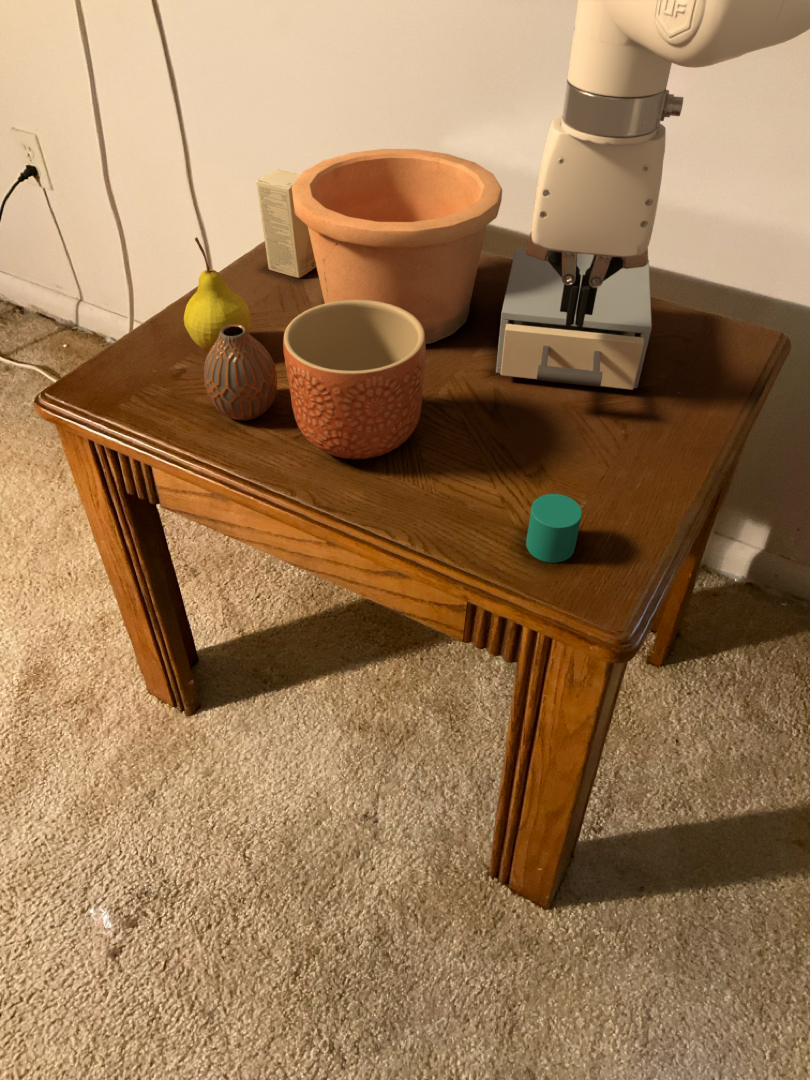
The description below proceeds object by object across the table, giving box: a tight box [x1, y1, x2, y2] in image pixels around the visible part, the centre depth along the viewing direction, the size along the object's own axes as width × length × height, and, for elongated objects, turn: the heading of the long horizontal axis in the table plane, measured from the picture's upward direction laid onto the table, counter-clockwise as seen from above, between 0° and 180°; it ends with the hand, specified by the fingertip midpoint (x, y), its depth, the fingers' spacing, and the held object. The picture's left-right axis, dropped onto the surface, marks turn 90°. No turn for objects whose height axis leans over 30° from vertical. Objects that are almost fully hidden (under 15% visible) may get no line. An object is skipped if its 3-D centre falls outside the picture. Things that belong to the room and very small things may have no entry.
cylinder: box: [525, 493, 583, 564], centre depth 66 cm, size 4×4×4 cm
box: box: [255, 168, 317, 279], centre depth 99 cm, size 5×4×11 cm
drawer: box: [500, 320, 644, 391], centre depth 84 cm, size 19×13×5 cm
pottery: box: [292, 148, 503, 345], centre depth 90 cm, size 22×22×14 cm
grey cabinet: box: [495, 247, 653, 389], centre depth 88 cm, size 15×15×7 cm
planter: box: [282, 300, 427, 460], centre depth 75 cm, size 12×12×11 cm
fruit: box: [183, 237, 252, 353], centre depth 85 cm, size 7×7×12 cm
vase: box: [203, 324, 278, 421], centre depth 78 cm, size 7×7×9 cm
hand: (574, 318), depth 77 cm, fingers closed
